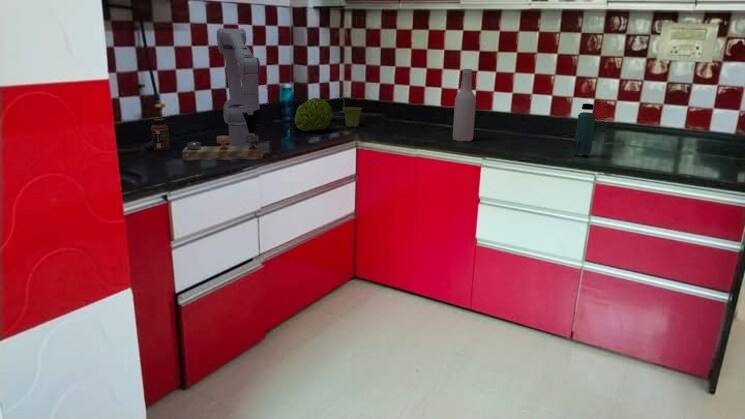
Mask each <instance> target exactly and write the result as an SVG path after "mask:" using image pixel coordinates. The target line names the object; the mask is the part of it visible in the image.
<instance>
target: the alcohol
mask: <svg viewBox="0 0 745 419" xmlns="http://www.w3.org/2000/svg"><path fill="white" fill-rule="evenodd" d="M461 78H462V79H461V85H460V89H459V92H457V94H456V96H455V98H454V109H453V110H454V111H453V127H452V139H453V141H455V140H456V142H463V141H467V142H471V141H472V140H474V133H475V132H474V131H475V130H474V129H475V116H476V103H477V99H476V94H474V92H473V88H472V87H473V86H472V84H473V83H472V82H473V69H471V68H463V69H462V77H461Z"/></svg>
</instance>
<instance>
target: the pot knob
mask: <svg viewBox="0 0 745 419" xmlns="http://www.w3.org/2000/svg"><path fill="white" fill-rule="evenodd" d="M216 143H217V144H220V146H221V148H226V146H227V144H230V137H229V135H217V136H216Z"/></svg>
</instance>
